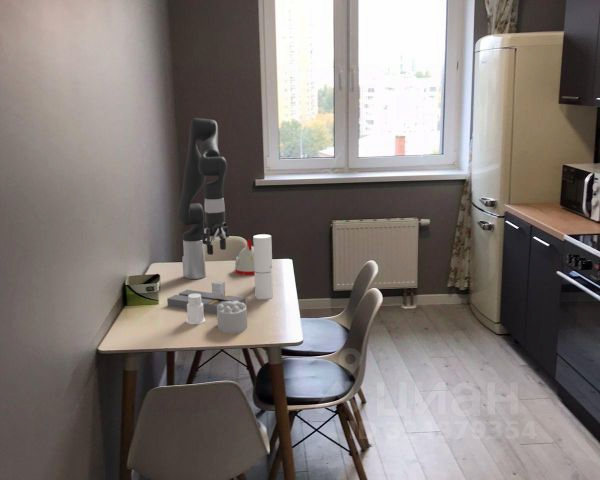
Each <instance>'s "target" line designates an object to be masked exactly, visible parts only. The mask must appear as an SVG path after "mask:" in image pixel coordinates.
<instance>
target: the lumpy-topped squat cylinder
mask: <svg viewBox="0 0 600 480" xmlns="http://www.w3.org/2000/svg"><path fill="white" fill-rule="evenodd" d="M247 312H248V311H247V304H246V305H245V304H244V303H242V302H239V301H225V302H223V303H221V304H219V305H218V306H217V313H216V316H217V329H218V330H217V331H219V332H221V333H224V334H232V335H233V334H239V333H241V332H243V331H245V330H246V329H248V315H247V314H248V313H247Z"/></svg>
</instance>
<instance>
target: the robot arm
mask: <svg viewBox="0 0 600 480" xmlns="http://www.w3.org/2000/svg"><path fill="white" fill-rule="evenodd" d="M189 125H190V126H189V134H188V135H189V138H188V148H187V157H186V163H185V168H184V175H183V183H182V190H181V195H180V199H179V202H178V203H179V204H178V207H177V220H178V223H179V224H180V225H182V226H192V227H190V229H188V230H187V231H185V232H183V234H182V245H183V256H181V258H182V259H181V260H182V277H183V278H186V279H189V280H196V279H197V280H198V279H203V278H205V277H206V276H207V275H206V274H207V273H206V256H205V245H206V253H207V255H208V256H209V255H210V256H212V255H214V245H213V244H214V241H215V240H216V238H218V239H219V248H220V250H223V251H224V250H227V239H228V238H229V237H230V231H229V223H228V222H226V207H225V199H224V182H225V177H226V173H227V169H228V163H227V160H226V158H225V157H224V156H220V150H219V126H218V123H217V121H216V120H214V119H209V118H199V117H198V118H197V117H194V118H192V119H191V122H190V124H189ZM197 142H202V144H201V145H200V148H199V147H198V144H197ZM199 149H200V150H199ZM215 176H216V179H214V180H213V181H209V182H206V179H207V177H215ZM202 189H204V190H203V191H204V207H203V205H202V204H201V203H199V202H198V203H197V202H196V203H194V202H193V203H192V201H193V199H194V198H195V197H196V195H197V194H199V192H200V191H201V190H202ZM205 223H206V224H207V227H206V228H205Z"/></svg>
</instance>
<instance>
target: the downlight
mask: <svg viewBox="0 0 600 480" xmlns="http://www.w3.org/2000/svg"><path fill="white" fill-rule="evenodd" d="M188 301H189V303H188V304H187V309H186V312H187V313H186V314H187V319H186V320H185V321H186V323H187V324H189V325H200V324H203V323H205V322H206V318H205V316H204V315H205V313H204V312H205V311H203V303H201V294H196V293H195V294H190V295H188Z"/></svg>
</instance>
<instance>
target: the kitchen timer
mask: <svg viewBox="0 0 600 480" xmlns="http://www.w3.org/2000/svg"><path fill="white" fill-rule="evenodd" d="M234 272H235V274H237V275H242V276H255V270H254V245H252V240H251V239H250V238H248V239H247V242H246V246H244V247H243V248H242V249H241V251H240V252H239V253H238V255H237V256H236V258H235V267H234Z"/></svg>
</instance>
